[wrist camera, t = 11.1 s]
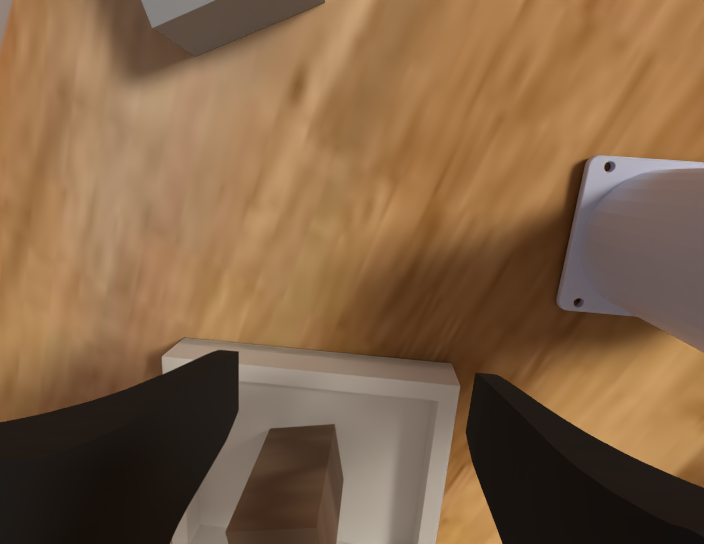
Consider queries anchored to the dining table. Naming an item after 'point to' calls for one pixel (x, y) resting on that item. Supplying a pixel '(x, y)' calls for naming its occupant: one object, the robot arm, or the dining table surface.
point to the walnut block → (291, 490)
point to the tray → (352, 435)
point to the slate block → (217, 19)
